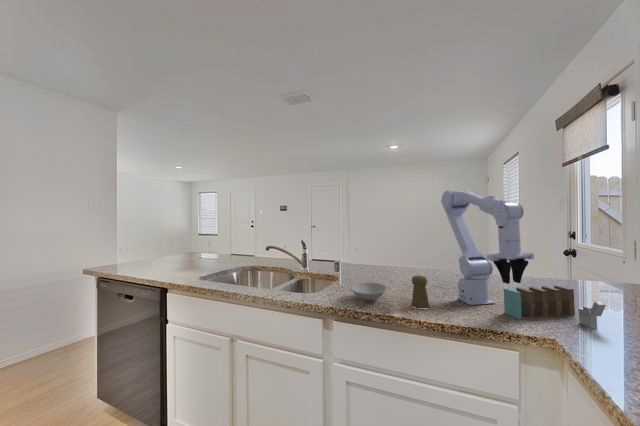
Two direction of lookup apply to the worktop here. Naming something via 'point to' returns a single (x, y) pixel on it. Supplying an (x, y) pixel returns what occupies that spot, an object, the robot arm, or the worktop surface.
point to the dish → (368, 290)
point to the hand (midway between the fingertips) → (511, 282)
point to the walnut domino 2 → (540, 301)
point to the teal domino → (512, 303)
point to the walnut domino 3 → (553, 300)
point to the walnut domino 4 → (566, 299)
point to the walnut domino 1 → (527, 302)
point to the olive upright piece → (420, 292)
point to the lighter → (591, 314)
